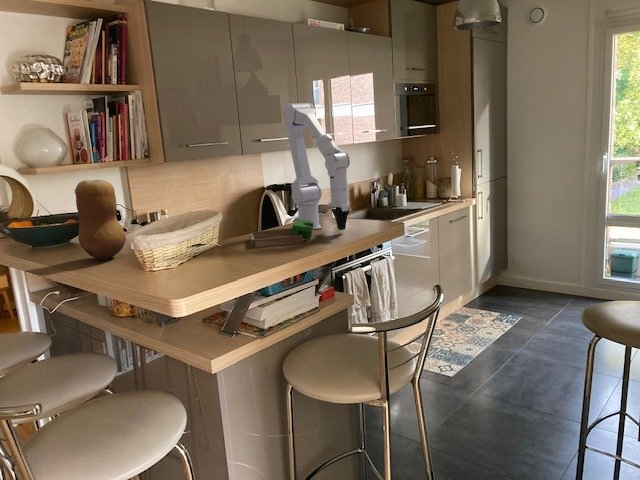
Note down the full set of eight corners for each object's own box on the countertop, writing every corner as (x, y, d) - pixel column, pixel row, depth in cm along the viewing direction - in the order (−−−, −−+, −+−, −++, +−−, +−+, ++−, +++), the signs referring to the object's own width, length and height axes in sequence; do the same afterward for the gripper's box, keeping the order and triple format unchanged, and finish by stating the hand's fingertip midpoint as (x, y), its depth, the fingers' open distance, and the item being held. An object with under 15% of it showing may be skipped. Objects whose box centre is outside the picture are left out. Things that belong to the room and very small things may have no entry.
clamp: (307, 254, 168) (310, 231, 163) (289, 250, 169) (291, 228, 163) (312, 233, 178) (315, 211, 173) (295, 229, 178) (298, 208, 173)
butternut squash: (137, 254, 166) (125, 176, 160) (101, 265, 154) (87, 182, 149) (107, 252, 172) (95, 177, 167) (72, 263, 161) (57, 182, 156)
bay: (250, 239, 176) (249, 232, 175) (296, 234, 179) (296, 227, 178) (252, 248, 162) (251, 240, 162) (302, 242, 165) (302, 234, 165)
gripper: (322, 188, 177) (325, 227, 180) (331, 192, 163) (334, 234, 166) (343, 186, 179) (345, 224, 181) (353, 190, 165) (356, 232, 167)
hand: (341, 229), depth 174 cm, fingers closed
